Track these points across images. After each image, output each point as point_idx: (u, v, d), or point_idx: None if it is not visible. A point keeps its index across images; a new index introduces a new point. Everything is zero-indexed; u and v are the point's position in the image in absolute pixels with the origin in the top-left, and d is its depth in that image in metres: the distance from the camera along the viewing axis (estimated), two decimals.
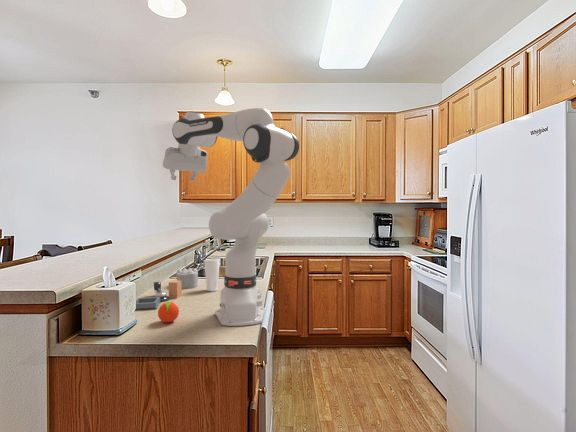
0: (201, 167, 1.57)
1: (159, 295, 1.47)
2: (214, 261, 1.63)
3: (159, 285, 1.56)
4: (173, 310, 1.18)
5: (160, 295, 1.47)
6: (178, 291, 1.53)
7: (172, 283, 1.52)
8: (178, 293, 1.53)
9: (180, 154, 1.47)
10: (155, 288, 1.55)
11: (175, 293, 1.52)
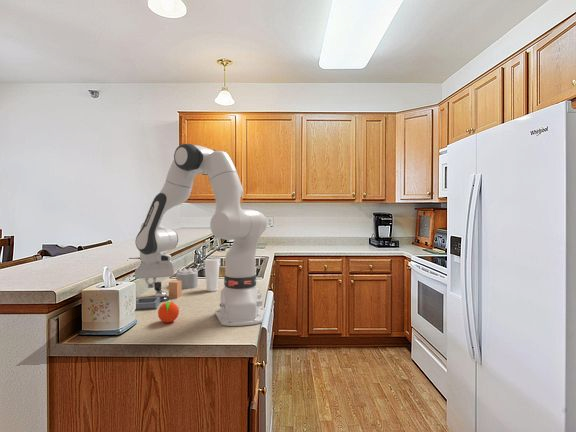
0: (168, 272, 1.56)
1: (159, 295, 1.47)
2: (214, 261, 1.63)
3: (159, 285, 1.56)
4: (173, 310, 1.18)
5: (160, 295, 1.47)
6: (178, 291, 1.53)
7: (172, 283, 1.52)
8: (178, 293, 1.53)
9: None
10: (155, 288, 1.55)
11: (175, 293, 1.52)
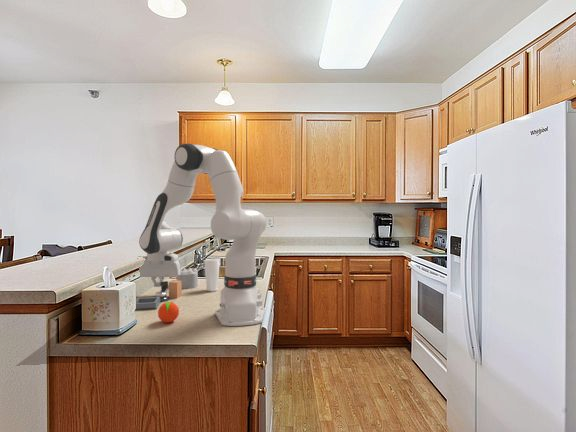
0: (172, 272, 1.56)
1: (157, 295, 1.47)
2: (214, 261, 1.63)
3: (165, 285, 1.56)
4: (173, 310, 1.18)
5: (158, 295, 1.47)
6: (178, 291, 1.53)
7: (172, 283, 1.52)
8: (178, 293, 1.53)
9: (146, 262, 1.56)
10: (161, 287, 1.56)
11: (175, 293, 1.52)
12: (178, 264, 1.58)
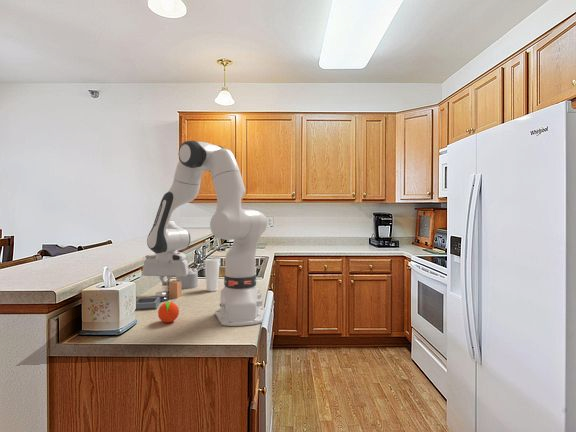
0: (180, 271, 1.56)
1: (156, 295, 1.47)
2: (214, 261, 1.63)
3: None
4: (173, 310, 1.18)
5: (157, 295, 1.47)
6: (178, 291, 1.53)
7: (172, 283, 1.52)
8: (178, 293, 1.53)
9: (154, 261, 1.56)
10: (168, 287, 1.57)
11: (175, 293, 1.52)
12: (186, 263, 1.58)
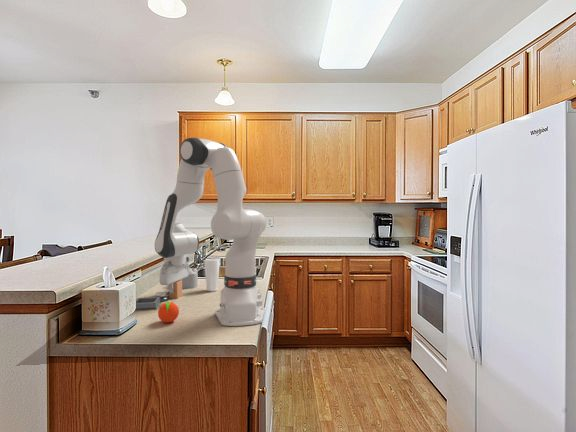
0: (186, 272, 1.61)
1: (156, 295, 1.47)
2: (214, 261, 1.63)
3: None
4: (173, 310, 1.18)
5: (156, 295, 1.47)
6: (178, 291, 1.53)
7: None
8: (178, 293, 1.53)
9: (173, 267, 1.49)
10: None
11: (175, 293, 1.52)
12: None
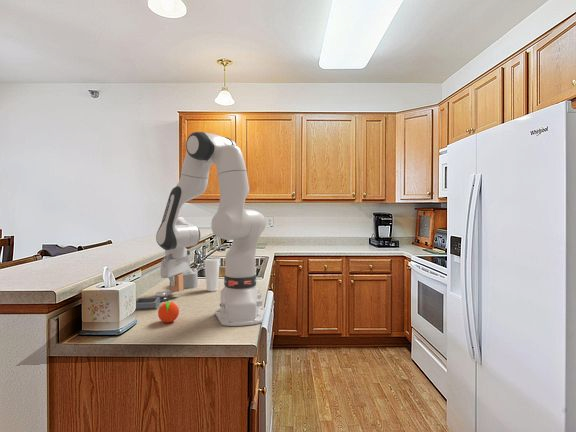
0: (187, 266, 1.61)
1: (156, 295, 1.47)
2: (214, 261, 1.63)
3: None
4: (173, 310, 1.18)
5: (156, 295, 1.47)
6: (180, 284, 1.53)
7: None
8: (180, 286, 1.53)
9: (174, 260, 1.49)
10: None
11: (177, 286, 1.52)
12: None
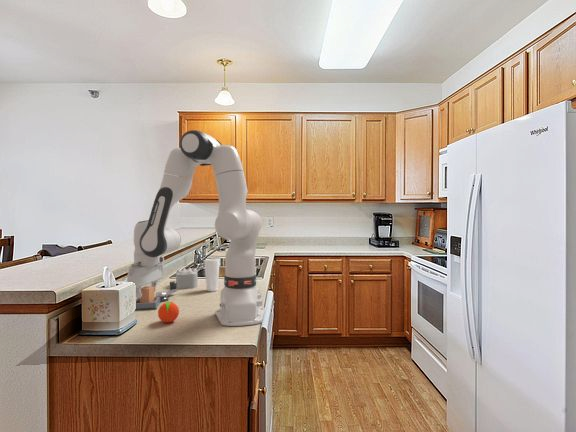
0: (160, 274, 1.46)
1: (156, 295, 1.47)
2: (214, 261, 1.63)
3: (172, 285, 1.56)
4: (173, 310, 1.18)
5: (156, 295, 1.47)
6: (150, 298, 1.38)
7: (143, 289, 1.37)
8: (150, 301, 1.38)
9: (143, 268, 1.34)
10: None
11: (147, 301, 1.37)
12: None
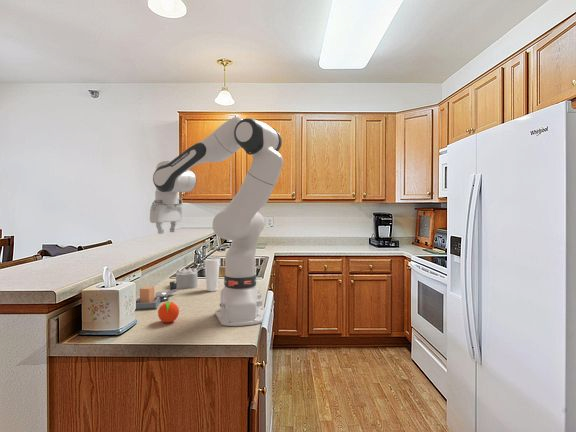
0: (179, 216, 1.54)
1: (156, 295, 1.47)
2: (214, 261, 1.63)
3: (172, 285, 1.56)
4: (173, 310, 1.18)
5: (156, 295, 1.47)
6: (150, 298, 1.38)
7: (143, 289, 1.37)
8: (150, 301, 1.38)
9: (165, 206, 1.42)
10: None
11: (147, 301, 1.37)
12: None
